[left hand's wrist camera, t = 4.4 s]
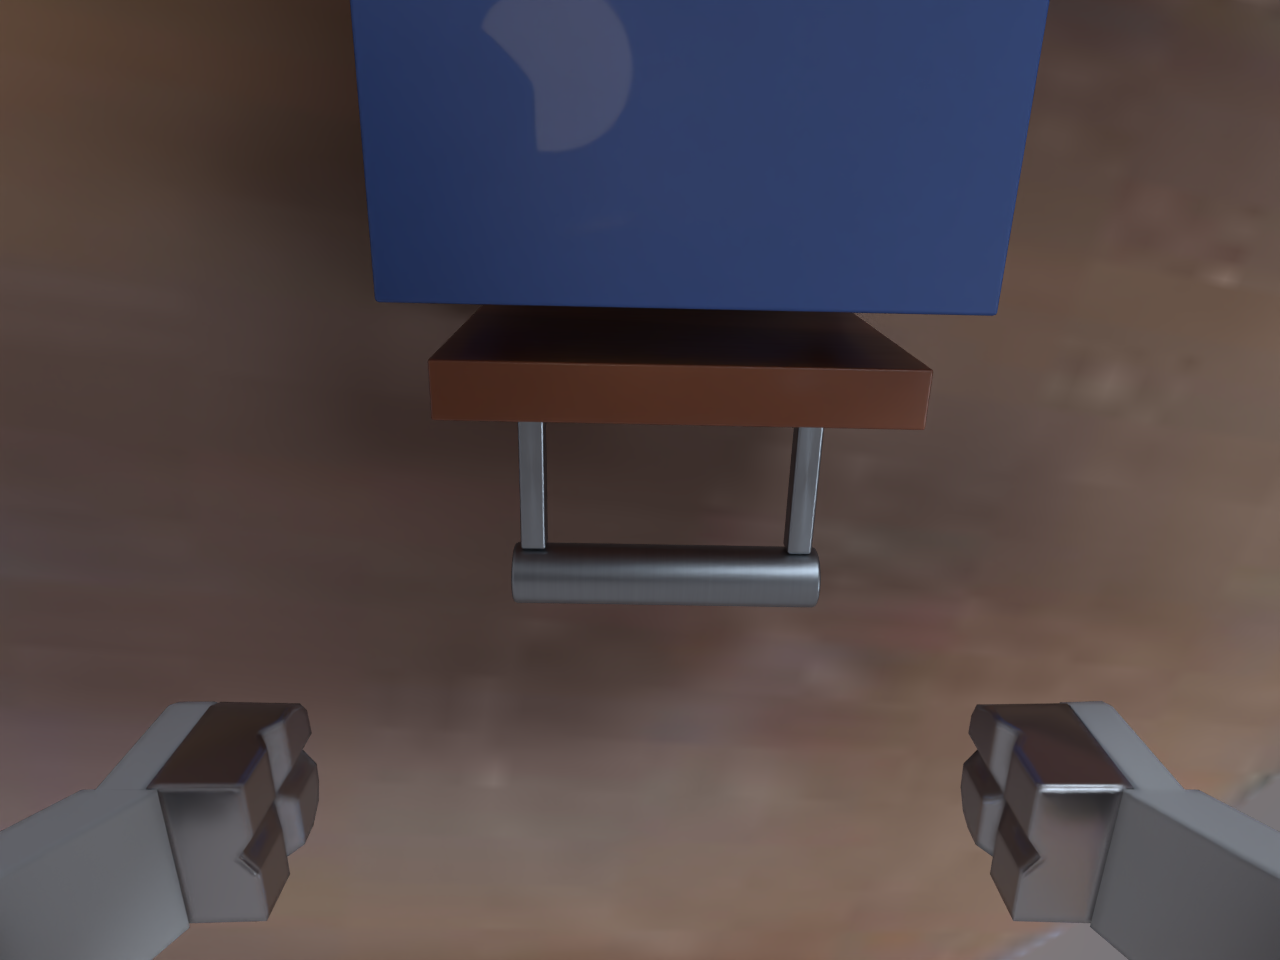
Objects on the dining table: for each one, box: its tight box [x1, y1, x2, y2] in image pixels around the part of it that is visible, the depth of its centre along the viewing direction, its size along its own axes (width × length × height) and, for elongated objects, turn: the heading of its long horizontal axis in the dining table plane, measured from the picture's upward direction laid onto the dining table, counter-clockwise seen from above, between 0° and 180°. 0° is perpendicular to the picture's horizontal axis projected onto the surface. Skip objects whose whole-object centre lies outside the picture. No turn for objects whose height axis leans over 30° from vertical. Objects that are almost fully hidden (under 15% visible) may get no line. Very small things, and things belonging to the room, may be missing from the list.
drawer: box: [428, 304, 933, 607], centre depth 18 cm, size 26×10×8 cm, turn 179°
